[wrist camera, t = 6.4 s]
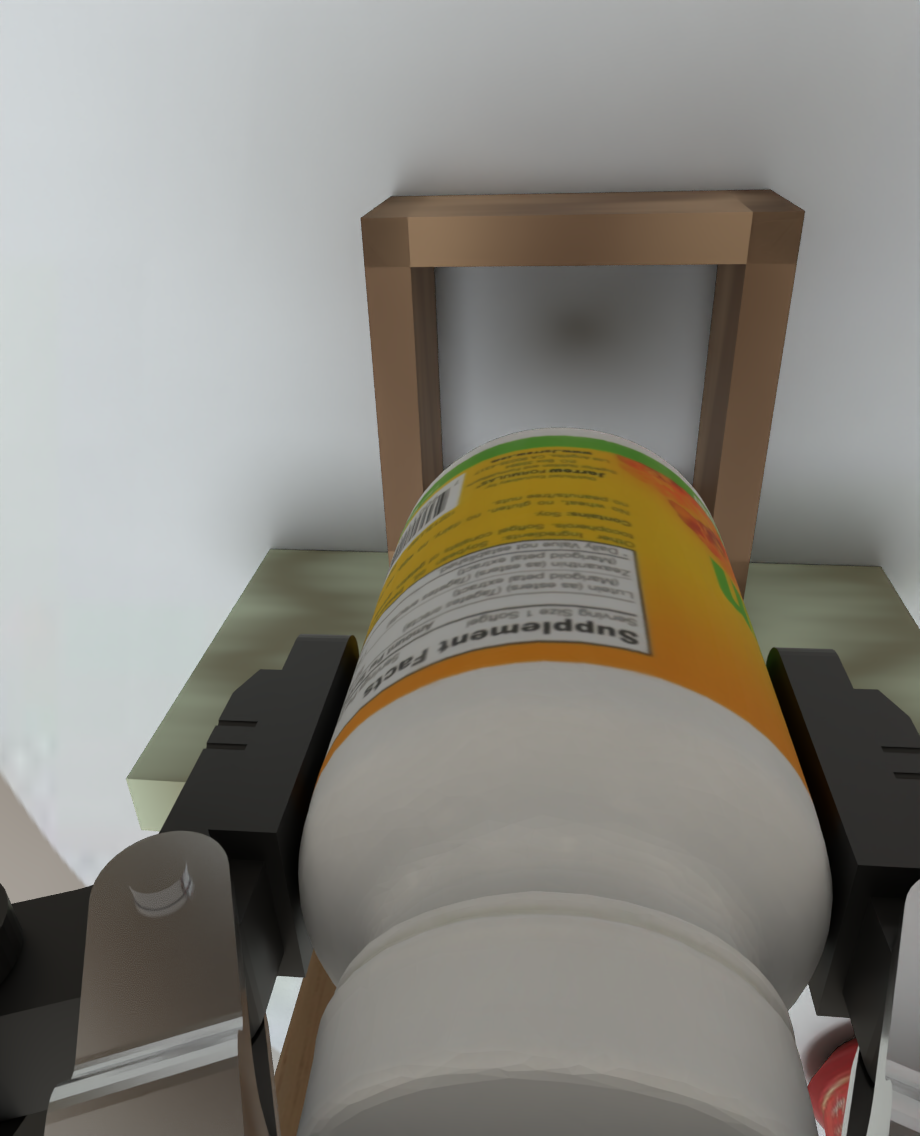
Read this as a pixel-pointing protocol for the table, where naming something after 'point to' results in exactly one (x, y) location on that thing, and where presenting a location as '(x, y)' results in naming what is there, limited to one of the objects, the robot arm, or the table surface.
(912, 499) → the table surface
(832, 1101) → the liquor
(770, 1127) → the supplement bottle
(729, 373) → the board
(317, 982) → the wooden block
